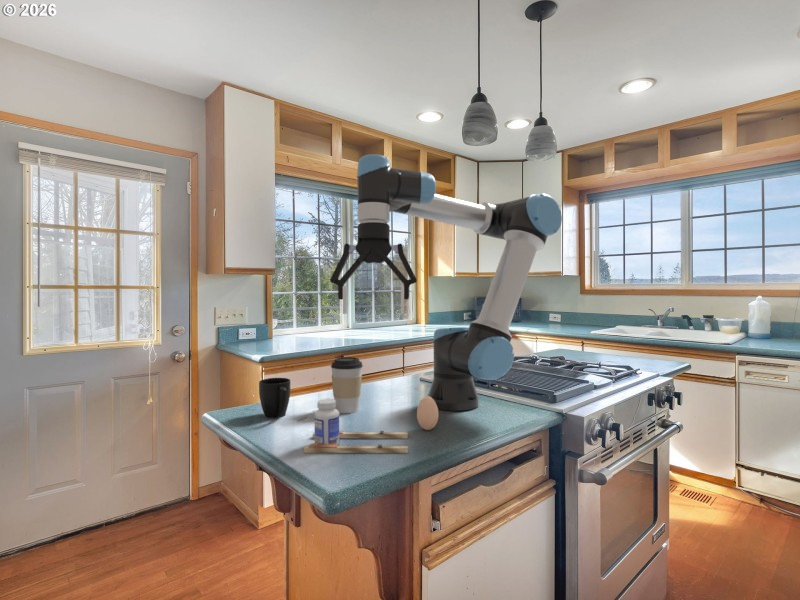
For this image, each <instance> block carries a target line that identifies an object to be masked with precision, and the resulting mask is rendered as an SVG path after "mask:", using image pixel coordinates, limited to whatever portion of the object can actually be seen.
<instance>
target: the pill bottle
mask: <svg viewBox="0 0 800 600" xmlns="http://www.w3.org/2000/svg"><path fill="white" fill-rule="evenodd" d="M316 406H317V409H316V411H315V412H314V432H315V438H314V445H338V446H339V444H340V438H339V431H340V413H339V411H338V410H337V409H335V407H336V401H335V400H334V398H322V399H319V400H318V401H317V405H316Z"/></svg>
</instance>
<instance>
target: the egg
mask: <svg viewBox="0 0 800 600" xmlns="http://www.w3.org/2000/svg"><path fill="white" fill-rule="evenodd" d="M416 418H417V422H418V424H419V426H420V427H421V429H424V430H426V431H430V430H432V429H433V428H434V427H435V426H436V425H437V423H438V420H439V409H438V408H437V405H436V402H435V401H434V400H433V398H431V397H429V396H428V395H427V396H424V397H423V398H421V400H420V401H419V404H418V405H417V410H416Z"/></svg>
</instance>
